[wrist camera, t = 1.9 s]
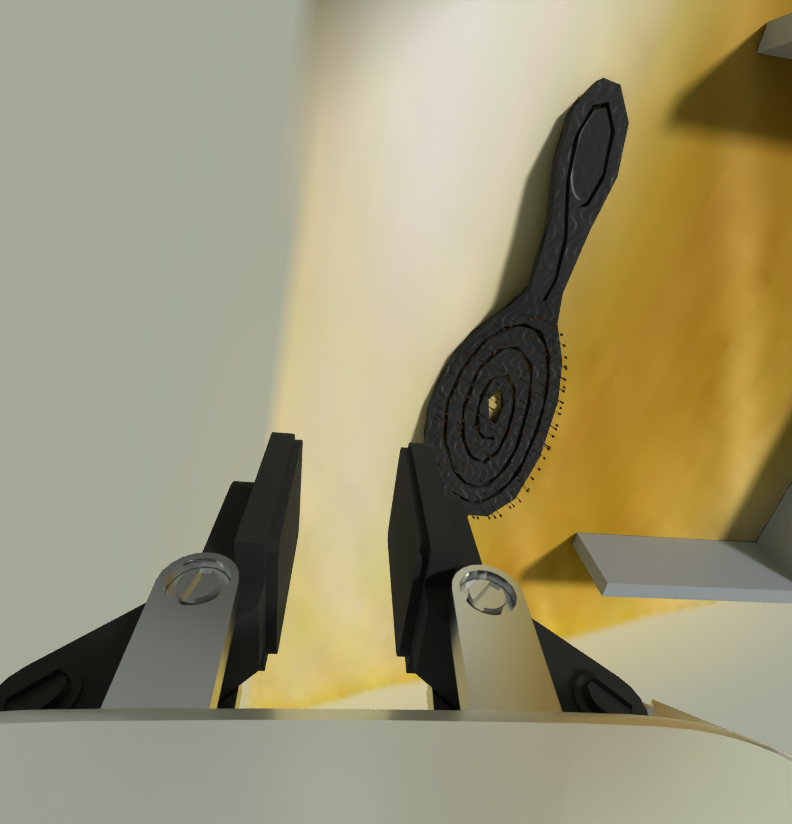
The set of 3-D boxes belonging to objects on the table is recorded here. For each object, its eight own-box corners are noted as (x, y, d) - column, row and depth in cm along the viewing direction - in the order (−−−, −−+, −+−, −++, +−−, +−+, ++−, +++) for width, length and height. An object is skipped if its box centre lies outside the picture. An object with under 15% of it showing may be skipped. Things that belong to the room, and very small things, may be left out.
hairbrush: (713, 95, 22) (532, 533, 31) (665, 110, 25) (515, 501, 34) (547, 40, 20) (409, 515, 30) (520, 64, 24) (404, 484, 33)
